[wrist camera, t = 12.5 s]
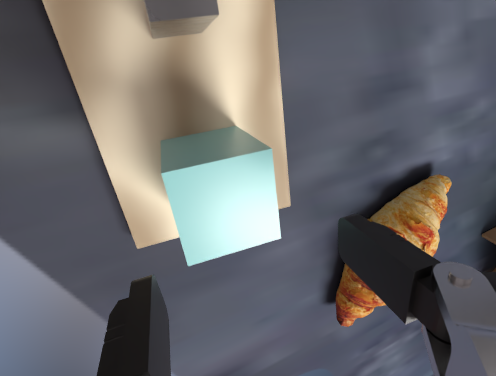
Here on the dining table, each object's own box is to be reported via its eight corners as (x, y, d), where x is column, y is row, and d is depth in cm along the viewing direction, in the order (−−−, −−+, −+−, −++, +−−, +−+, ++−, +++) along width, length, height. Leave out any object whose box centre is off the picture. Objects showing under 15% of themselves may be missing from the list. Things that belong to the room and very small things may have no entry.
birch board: (257, -98, 17) (265, -112, 16) (284, 199, 27) (290, 205, 25) (14, -94, 14) (-1, -111, 13) (138, 239, 24) (137, 248, 22)
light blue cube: (235, 125, 21) (272, 148, 14) (246, 191, 23) (280, 238, 17) (160, 140, 20) (161, 173, 13) (179, 208, 22) (188, 266, 15)
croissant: (392, 153, 33) (427, 154, 25) (466, 193, 33) (524, 206, 25) (305, 289, 37) (311, 326, 29) (370, 326, 37) (394, 374, 29)
